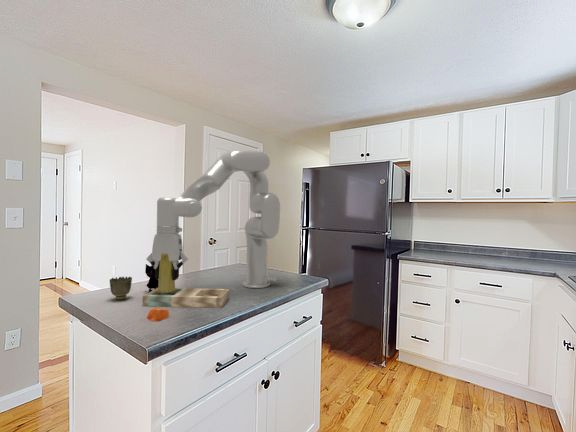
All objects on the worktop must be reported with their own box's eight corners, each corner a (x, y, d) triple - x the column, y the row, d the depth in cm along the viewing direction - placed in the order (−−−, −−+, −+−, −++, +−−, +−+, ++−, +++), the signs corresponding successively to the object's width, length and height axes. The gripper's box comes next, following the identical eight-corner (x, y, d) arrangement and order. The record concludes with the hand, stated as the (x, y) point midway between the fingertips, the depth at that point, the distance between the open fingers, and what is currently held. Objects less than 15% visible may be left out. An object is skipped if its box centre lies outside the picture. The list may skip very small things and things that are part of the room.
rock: (160, 311, 101) (161, 298, 100) (186, 317, 95) (186, 304, 95) (127, 322, 90) (127, 308, 90) (153, 330, 84) (154, 315, 84)
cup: (111, 297, 112) (111, 276, 112) (132, 295, 115) (132, 275, 115) (107, 303, 105) (107, 281, 105) (130, 301, 108) (131, 279, 108)
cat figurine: (146, 295, 116) (147, 265, 116) (141, 291, 121) (141, 262, 121) (164, 292, 121) (165, 263, 121) (159, 288, 126) (159, 261, 126)
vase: (173, 293, 106) (174, 253, 106) (155, 293, 105) (156, 253, 105) (176, 288, 112) (177, 251, 112) (160, 289, 111) (160, 251, 111)
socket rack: (229, 297, 114) (229, 289, 114) (221, 307, 102) (221, 297, 102) (158, 296, 115) (158, 287, 115) (142, 305, 103) (142, 296, 103)
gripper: (194, 230, 112) (193, 277, 112) (149, 229, 113) (149, 276, 113) (186, 231, 105) (186, 282, 105) (139, 230, 105) (138, 281, 105)
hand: (166, 278), depth 109 cm, fingers closed on vase, 5 cm apart
